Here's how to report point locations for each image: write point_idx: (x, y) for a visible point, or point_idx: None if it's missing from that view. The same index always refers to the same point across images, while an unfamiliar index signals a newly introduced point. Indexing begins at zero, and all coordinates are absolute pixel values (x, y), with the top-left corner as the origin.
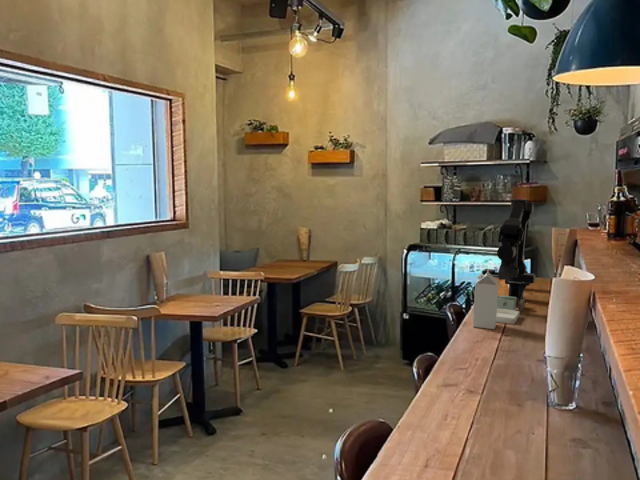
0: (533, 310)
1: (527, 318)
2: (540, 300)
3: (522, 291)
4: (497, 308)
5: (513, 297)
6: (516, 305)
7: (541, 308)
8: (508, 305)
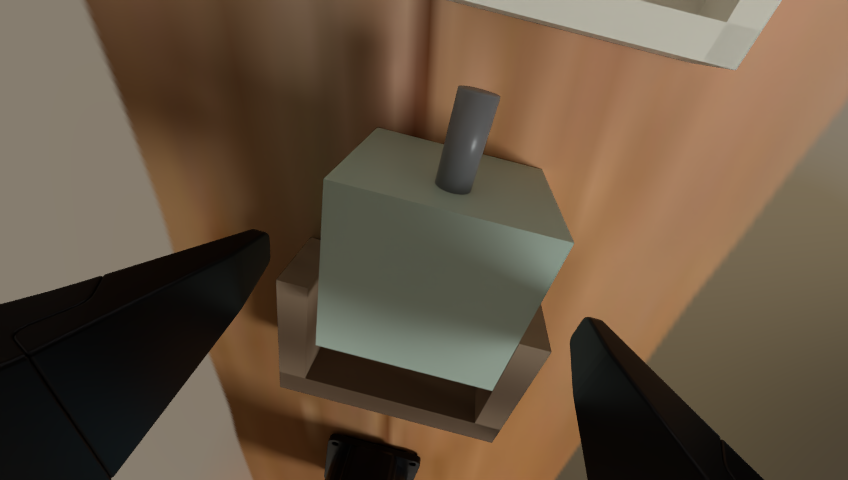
0: None
1: None
2: (255, 453)
3: (92, 288)
4: (582, 23)
5: (343, 329)
6: None
7: None
8: (412, 164)
